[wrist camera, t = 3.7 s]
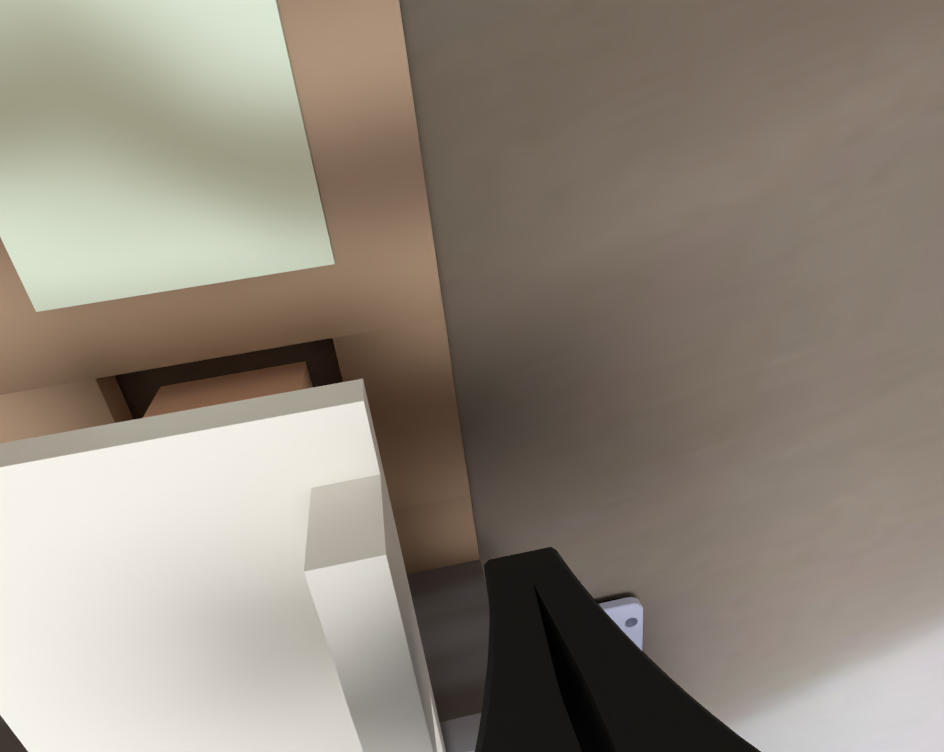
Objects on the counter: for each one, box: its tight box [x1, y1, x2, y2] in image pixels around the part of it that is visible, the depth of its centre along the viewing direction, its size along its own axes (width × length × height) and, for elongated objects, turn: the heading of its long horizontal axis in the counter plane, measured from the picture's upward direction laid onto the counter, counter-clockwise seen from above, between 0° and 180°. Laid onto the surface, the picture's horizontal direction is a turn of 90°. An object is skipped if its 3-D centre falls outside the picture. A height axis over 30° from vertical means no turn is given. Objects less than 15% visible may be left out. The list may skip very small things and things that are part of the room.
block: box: [143, 361, 313, 418], centre depth 16 cm, size 4×4×6 cm
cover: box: [0, 379, 446, 752], centre depth 12 cm, size 12×8×3 cm, turn 7°
